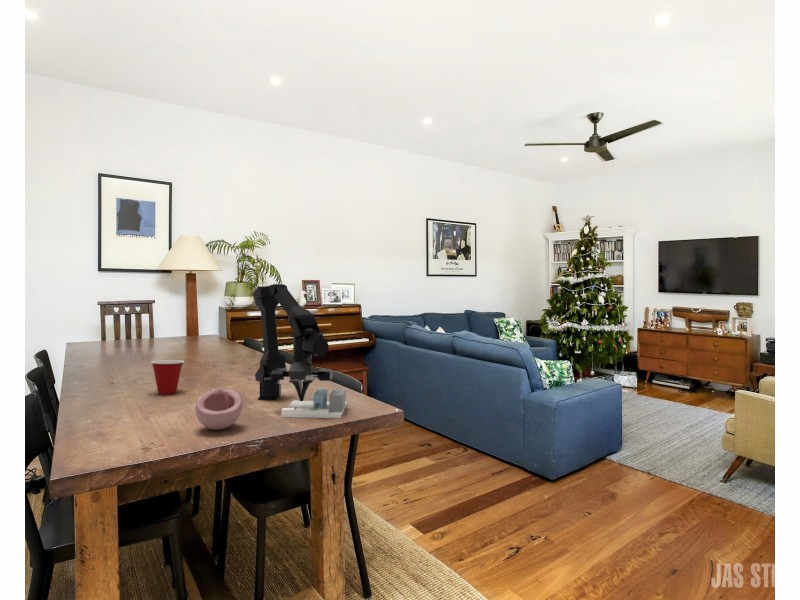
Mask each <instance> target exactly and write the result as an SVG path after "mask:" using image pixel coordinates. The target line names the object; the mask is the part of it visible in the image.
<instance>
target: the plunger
mask: <svg viewBox="0 0 800 600" xmlns="http://www.w3.org/2000/svg"><path fill="white" fill-rule="evenodd" d="M313 401H314V405H313V408H318V409H324V407H325V406H326V404H327V401H328V388H327V389H326V388H318V389H317V390H316V391H315V392H314V394H313Z"/></svg>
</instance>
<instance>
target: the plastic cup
mask: <svg viewBox="0 0 800 600" xmlns="http://www.w3.org/2000/svg"><path fill="white" fill-rule="evenodd" d="M150 363H151V365H152V368H153V372H154V379H155V384H156V388H157V393H158V395H160V396H170V395H174V394H176V393H177V391H178V385H179V381H180V376H181V371H182V367H183V365H184V363H185V360H178V359H163V360H152V361H150Z"/></svg>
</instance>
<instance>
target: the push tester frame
mask: <svg viewBox="0 0 800 600" xmlns="http://www.w3.org/2000/svg"><path fill="white" fill-rule="evenodd" d="M346 390H347V389H346V388H342V389H341V388H333V389H332V391H331V392H330V394H329V395H328V396H329V400H327V404H326V406H325V407H324V409H318V408H313V405H314V400H303V401H300V400H292V401H291V402H290V404H289V405H288V406H287V407H282V409H281V410H280V413H281V414H280V417H281V418H310V419H313V418H315V419H316V418H318V419H322V418H323V419H341V418H342V416H343V413H344V411H345V409H346V407H347V405H348V403H347V402H348V401H346V397H347V396H346V395H347V394H346Z"/></svg>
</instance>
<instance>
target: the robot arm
mask: <svg viewBox="0 0 800 600" xmlns="http://www.w3.org/2000/svg"><path fill="white" fill-rule="evenodd" d="M253 298H254V304H255V306H256V307H257V309H258V310H259V311H260V317H261V330H262V341H263V342H262V343H263V354H262V356H261V359H260V360H259V367H258V369H257V371H256V372H255V374H254V376H255V382H258V383H259V397H257V400H269V401H270V400H271V401H273V400H275V401H276V400H278V399H279V398H280V397H281V396H282V384H281V383H280V381H282V380H283V381H284V380H285V378H289V380H288V382H289V383H291V384H292V385H293V386H294V388H295V391H296V393H297V396H298V398H299V401H305V400H304V399H305V397H306V393H307V391H308V389H309V386H310V384H311V383H313V382H314V381H315V379H318V380H319V381H320V382H321V381H324V382H330V381H331V380H332V379H333V370H332V369H331V368H320V369H319V370H317V371H314V367H313V364H312V358H313V356H316V357H324V356H325V355H326V354H327V352H328V350H329V343H328V341H327V339H326V338H324V334H323V333H322V332H321V329H320V326H319V324H318V322H317V320H316V317H315V315H314V314H313V313H312V312H311V311H310V310H309V309H306V308H304V307H302V306H301V305H300V304H299V302H298V301H297V300H296V299H295V298H294V296H293V294H292V293H291V292H290V291H289V289H288V287H287V285H286V284H284V283H273V284H270V285H265V286H263V285H261V286H257V287H256V288H255V289H254V290H253ZM278 306H281V308H282V309H283V311H284V312H285V313H286V315H287V317H288V319H287V323H288V325H289V327H290V329H291V331H292V333H291V334H290V338H293V339H292V340H293V345H292V347H293V349H292V351H293V354H292V355H293V356H292V361H291V364H290V367H289V369H288V368H287V364H286V357H285V354H281V352H280V351H279V340H278V330H277V329H278V328H277V318H276V316H277V315H276V309H277V308H278Z"/></svg>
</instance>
